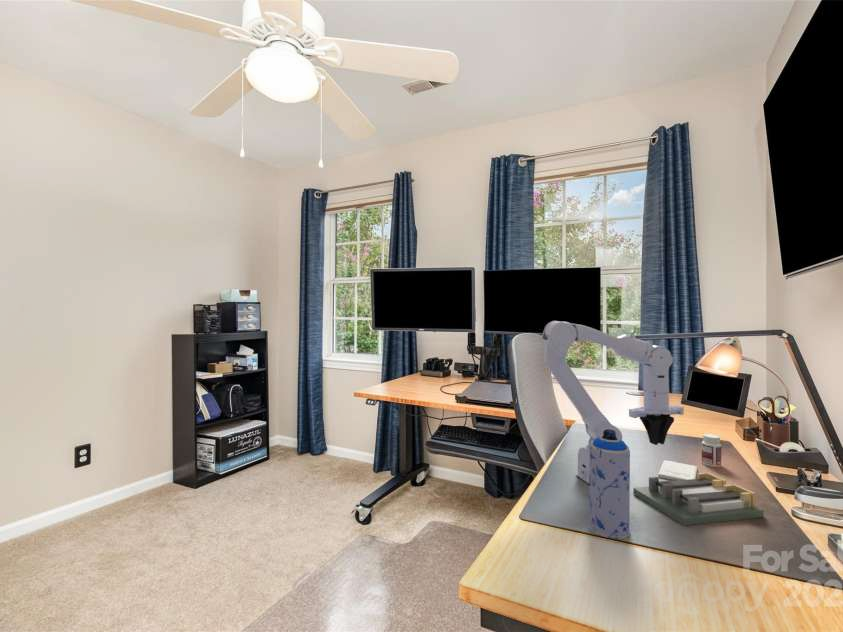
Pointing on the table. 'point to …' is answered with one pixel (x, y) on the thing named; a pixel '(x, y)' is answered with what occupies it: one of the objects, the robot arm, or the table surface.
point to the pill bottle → (711, 450)
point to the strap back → (687, 483)
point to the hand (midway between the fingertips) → (656, 443)
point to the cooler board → (693, 518)
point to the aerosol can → (609, 486)
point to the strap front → (712, 496)
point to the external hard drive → (677, 471)
